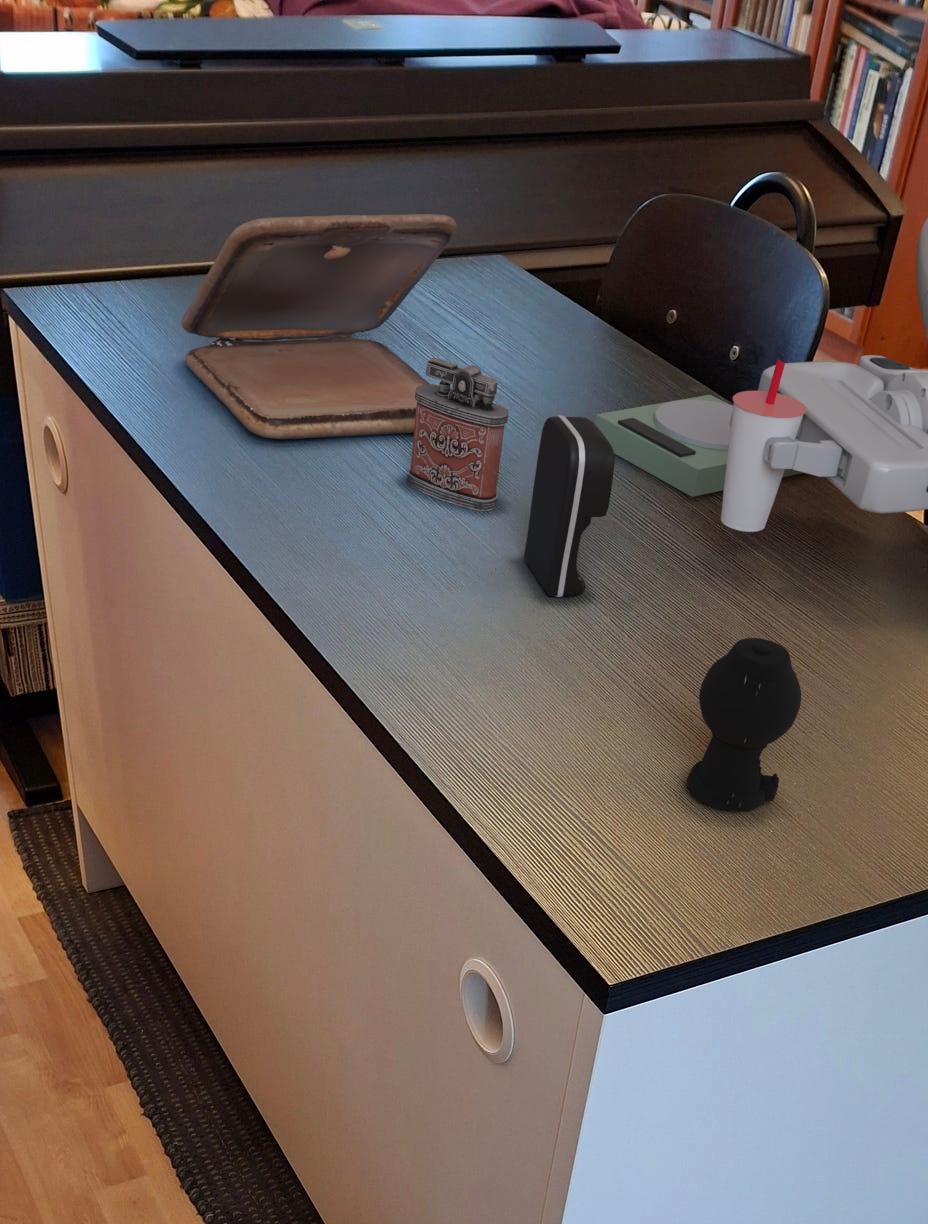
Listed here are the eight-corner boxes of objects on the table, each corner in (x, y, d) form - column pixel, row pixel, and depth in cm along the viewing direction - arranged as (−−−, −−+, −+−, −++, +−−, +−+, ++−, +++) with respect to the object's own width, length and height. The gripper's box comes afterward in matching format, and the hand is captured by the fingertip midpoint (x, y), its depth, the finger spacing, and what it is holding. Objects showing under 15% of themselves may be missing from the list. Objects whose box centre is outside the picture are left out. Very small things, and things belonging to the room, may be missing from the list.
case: (379, 351, 152) (393, 165, 142) (475, 433, 139) (498, 235, 128) (174, 360, 145) (172, 164, 134) (254, 449, 131) (259, 238, 120)
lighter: (504, 503, 128) (521, 376, 122) (482, 515, 126) (499, 386, 119) (421, 473, 131) (433, 347, 124) (398, 484, 129) (409, 357, 122)
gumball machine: (772, 834, 95) (815, 684, 88) (673, 816, 95) (709, 665, 89) (773, 777, 100) (814, 631, 93) (680, 760, 100) (714, 614, 94)
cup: (766, 509, 123) (804, 349, 115) (786, 539, 119) (826, 374, 111) (700, 506, 122) (733, 344, 114) (717, 536, 118) (753, 370, 110)
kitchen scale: (704, 420, 148) (711, 387, 146) (805, 472, 140) (814, 438, 138) (591, 441, 140) (597, 407, 139) (691, 497, 133) (699, 462, 131)
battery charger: (597, 600, 116) (626, 445, 109) (548, 601, 115) (573, 445, 108) (568, 558, 121) (593, 407, 114) (521, 559, 120) (543, 406, 113)
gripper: (973, 534, 114) (800, 538, 111) (848, 427, 129) (691, 427, 125) (1002, 447, 110) (823, 448, 107) (869, 347, 125) (707, 344, 121)
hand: (750, 436), depth 116 cm, fingers closed on cup, 5 cm apart
